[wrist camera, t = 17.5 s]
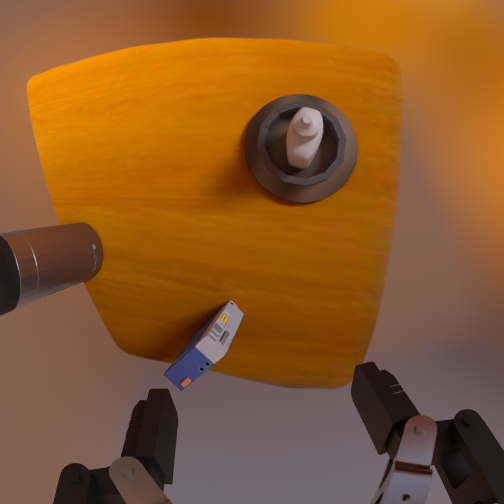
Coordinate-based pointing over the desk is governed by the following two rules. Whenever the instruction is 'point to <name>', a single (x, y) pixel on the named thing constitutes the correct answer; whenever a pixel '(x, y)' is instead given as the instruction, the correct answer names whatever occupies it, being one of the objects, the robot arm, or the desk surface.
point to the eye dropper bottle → (304, 137)
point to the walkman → (205, 346)
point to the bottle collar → (275, 150)
